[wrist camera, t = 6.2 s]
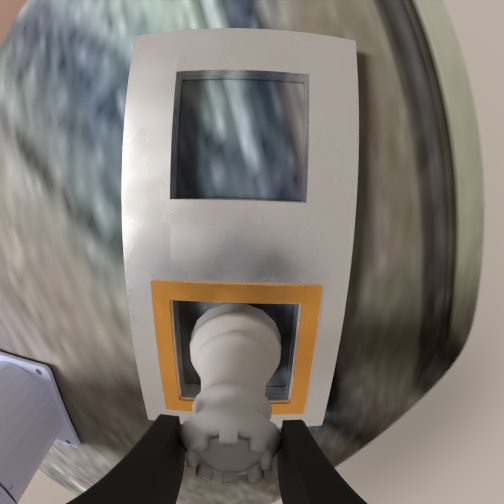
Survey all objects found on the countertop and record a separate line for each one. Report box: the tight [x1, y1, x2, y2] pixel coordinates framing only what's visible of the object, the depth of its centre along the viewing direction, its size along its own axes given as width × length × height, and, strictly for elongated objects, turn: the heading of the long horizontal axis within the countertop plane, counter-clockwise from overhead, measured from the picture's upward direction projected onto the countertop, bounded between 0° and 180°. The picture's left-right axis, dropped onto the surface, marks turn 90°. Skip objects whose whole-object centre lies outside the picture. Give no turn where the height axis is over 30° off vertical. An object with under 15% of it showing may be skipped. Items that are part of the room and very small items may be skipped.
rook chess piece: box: [179, 303, 282, 486], centre depth 11 cm, size 4×4×8 cm
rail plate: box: [122, 28, 359, 428], centre depth 13 cm, size 10×20×1 cm, turn 178°
